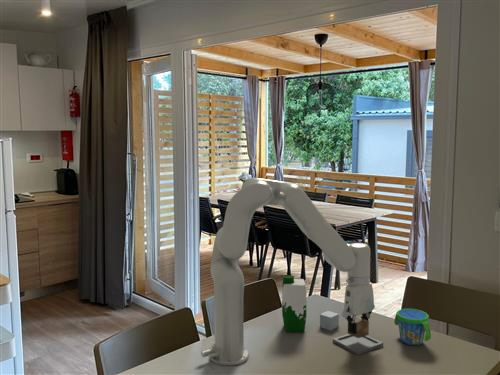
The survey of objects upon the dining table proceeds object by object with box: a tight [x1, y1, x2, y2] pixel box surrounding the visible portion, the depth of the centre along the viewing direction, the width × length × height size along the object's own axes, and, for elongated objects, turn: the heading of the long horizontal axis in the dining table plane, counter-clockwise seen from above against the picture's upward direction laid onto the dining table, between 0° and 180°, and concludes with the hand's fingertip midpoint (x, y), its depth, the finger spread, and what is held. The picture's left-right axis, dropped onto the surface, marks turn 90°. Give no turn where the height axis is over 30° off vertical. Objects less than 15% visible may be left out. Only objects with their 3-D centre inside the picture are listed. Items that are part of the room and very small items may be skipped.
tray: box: [332, 333, 384, 356], centre depth 167 cm, size 12×12×1 cm
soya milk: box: [281, 274, 307, 333], centre depth 180 cm, size 9×9×20 cm
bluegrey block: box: [319, 310, 340, 331], centre depth 183 cm, size 5×5×5 cm
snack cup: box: [393, 308, 432, 346], centre depth 168 cm, size 16×10×10 cm
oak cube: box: [347, 315, 370, 338], centre depth 167 cm, size 5×5×5 cm
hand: (358, 330), depth 167 cm, fingers closed on oak cube, 5 cm apart
